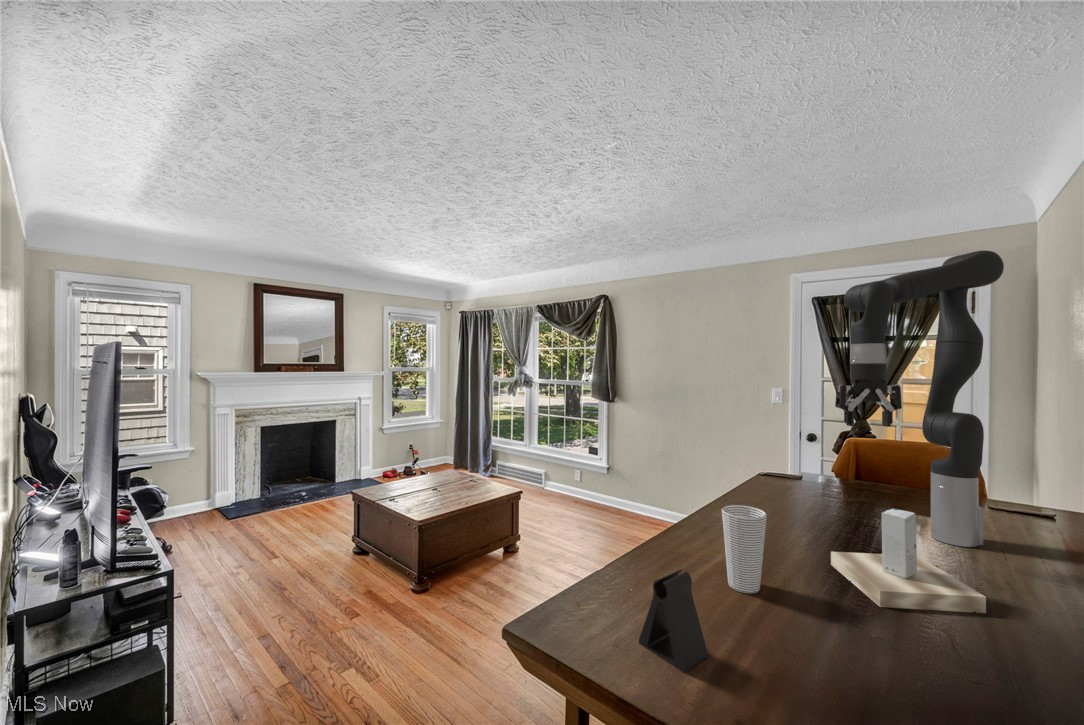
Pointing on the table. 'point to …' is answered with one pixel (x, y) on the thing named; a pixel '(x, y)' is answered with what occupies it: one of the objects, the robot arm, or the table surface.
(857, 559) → the base block
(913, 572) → the skincare box
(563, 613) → the table surface
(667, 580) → the phone stand
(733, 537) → the cup
